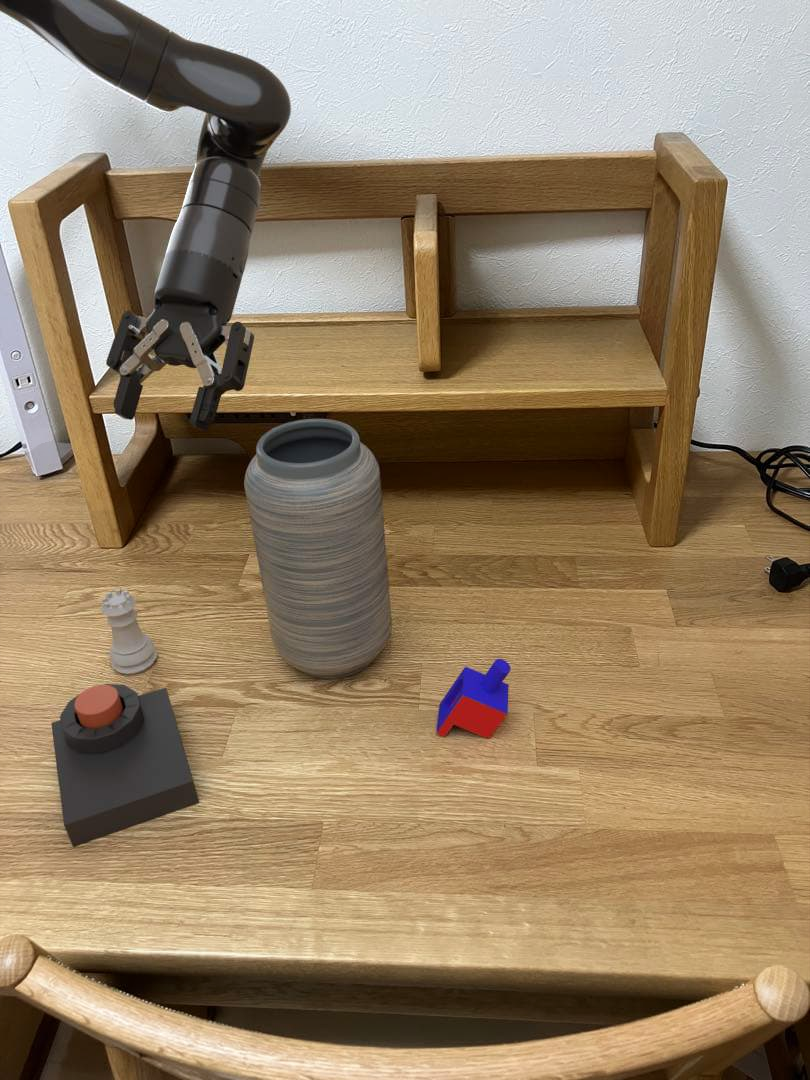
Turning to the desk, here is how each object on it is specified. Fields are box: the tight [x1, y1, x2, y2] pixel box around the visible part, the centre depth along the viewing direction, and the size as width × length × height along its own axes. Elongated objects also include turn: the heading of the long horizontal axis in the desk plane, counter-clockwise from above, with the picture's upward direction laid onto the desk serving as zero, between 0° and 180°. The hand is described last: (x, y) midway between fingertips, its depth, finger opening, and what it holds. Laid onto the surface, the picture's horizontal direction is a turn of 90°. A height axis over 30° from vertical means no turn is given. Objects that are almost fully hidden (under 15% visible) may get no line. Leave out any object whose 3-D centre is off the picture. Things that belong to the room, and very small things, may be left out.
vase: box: [243, 418, 393, 680], centre depth 81 cm, size 12×12×23 cm
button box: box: [51, 683, 200, 848], centre depth 75 cm, size 13×10×4 cm
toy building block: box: [435, 658, 512, 740], centre depth 77 cm, size 4×4×8 cm
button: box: [74, 684, 123, 729], centre depth 76 cm, size 4×4×2 cm
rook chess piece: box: [100, 588, 158, 676], centre depth 86 cm, size 4×4×8 cm
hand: (160, 422), depth 85 cm, fingers open, 8 cm apart
